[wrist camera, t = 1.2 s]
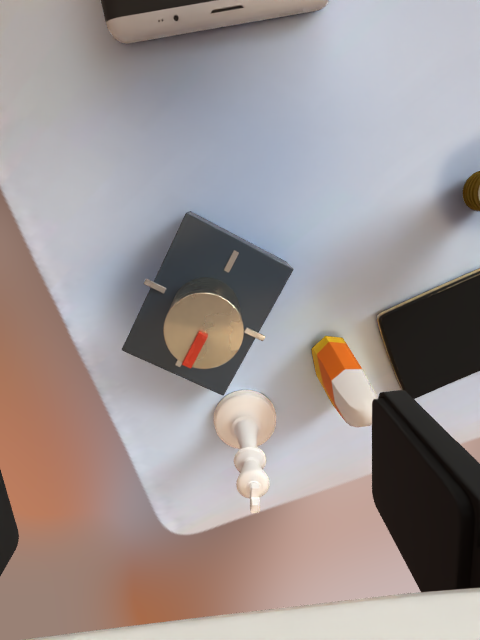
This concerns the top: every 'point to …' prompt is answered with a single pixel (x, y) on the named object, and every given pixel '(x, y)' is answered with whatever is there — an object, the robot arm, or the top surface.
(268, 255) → the control panel
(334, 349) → the candy corn
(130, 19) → the tablet
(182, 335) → the dial knob
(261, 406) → the chess piece
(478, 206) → the light bulb
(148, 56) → the top surface
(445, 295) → the smartphone
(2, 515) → the robot arm
